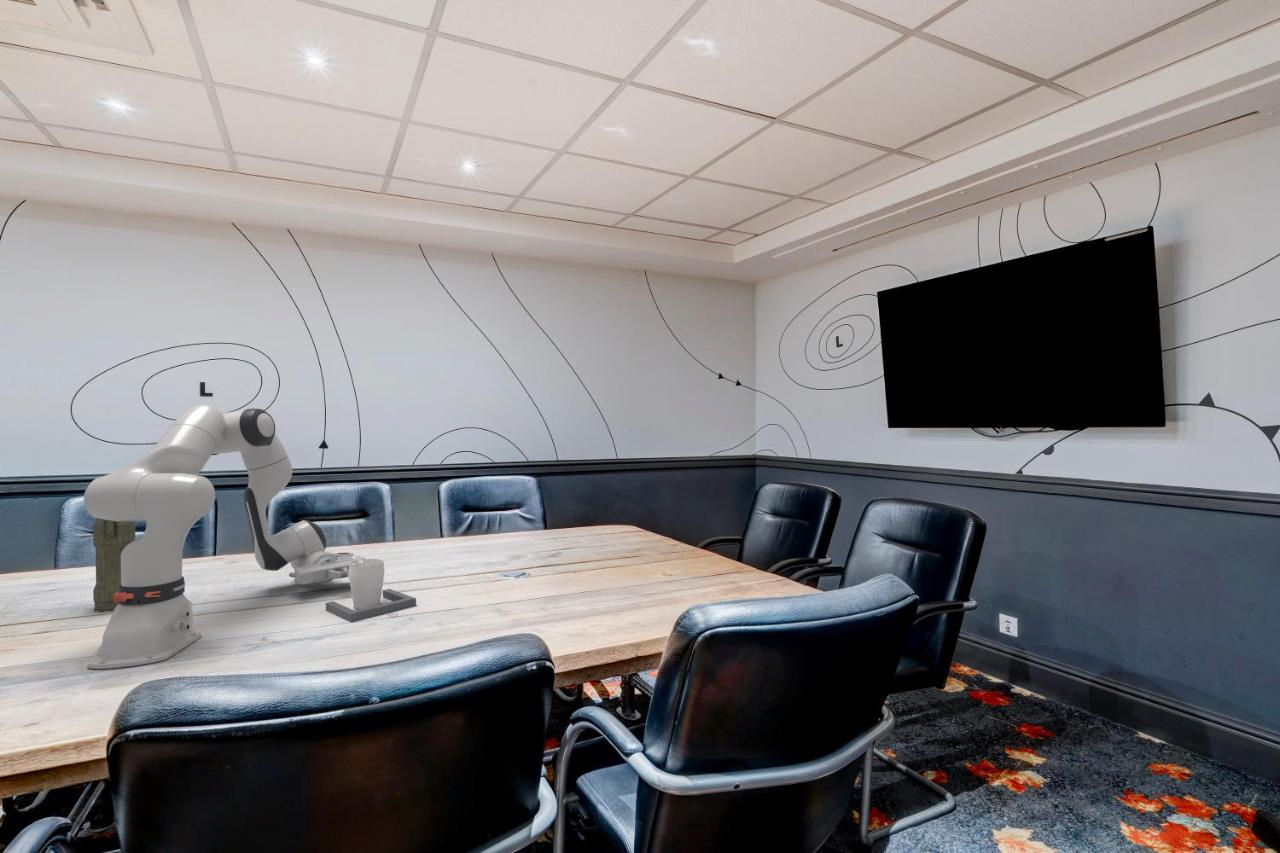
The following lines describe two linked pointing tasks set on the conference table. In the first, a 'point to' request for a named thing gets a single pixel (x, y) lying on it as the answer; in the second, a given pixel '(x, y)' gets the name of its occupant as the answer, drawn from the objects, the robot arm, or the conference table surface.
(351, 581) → the cup
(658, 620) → the conference table surface
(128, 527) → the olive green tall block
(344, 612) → the bay
